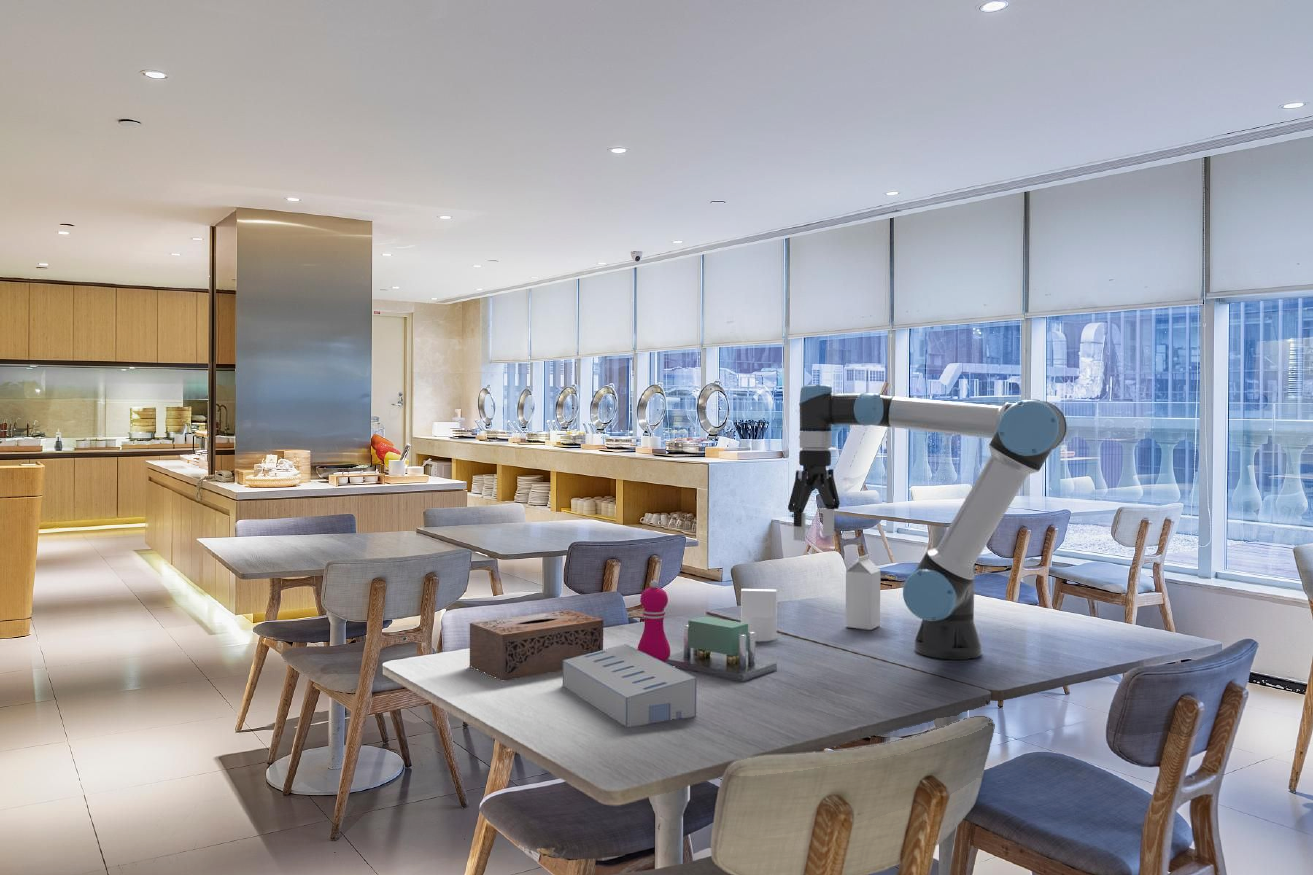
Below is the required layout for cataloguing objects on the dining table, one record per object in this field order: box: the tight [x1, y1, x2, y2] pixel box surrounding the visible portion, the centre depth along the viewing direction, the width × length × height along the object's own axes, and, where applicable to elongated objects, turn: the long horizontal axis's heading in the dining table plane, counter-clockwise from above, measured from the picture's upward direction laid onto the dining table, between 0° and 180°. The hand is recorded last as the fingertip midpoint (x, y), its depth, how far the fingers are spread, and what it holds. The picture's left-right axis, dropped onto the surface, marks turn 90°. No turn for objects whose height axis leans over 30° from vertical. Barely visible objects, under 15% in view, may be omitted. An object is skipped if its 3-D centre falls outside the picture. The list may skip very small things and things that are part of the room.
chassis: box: [665, 624, 778, 683], centre depth 214 cm, size 22×13×8 cm, turn 50°
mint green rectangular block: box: [687, 615, 748, 656], centre depth 214 cm, size 12×6×6 cm, turn 50°
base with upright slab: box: [740, 588, 778, 642], centre depth 244 cm, size 9×9×12 cm
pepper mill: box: [636, 579, 671, 662], centre depth 209 cm, size 7×7×20 cm
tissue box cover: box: [469, 609, 604, 681], centre depth 215 cm, size 26×14×10 cm, turn 128°
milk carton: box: [845, 553, 881, 631], centre depth 258 cm, size 7×7×19 cm
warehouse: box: [562, 643, 698, 728], centre depth 188 cm, size 30×14×8 cm, turn 28°
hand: (814, 538), depth 232 cm, fingers open, 13 cm apart
